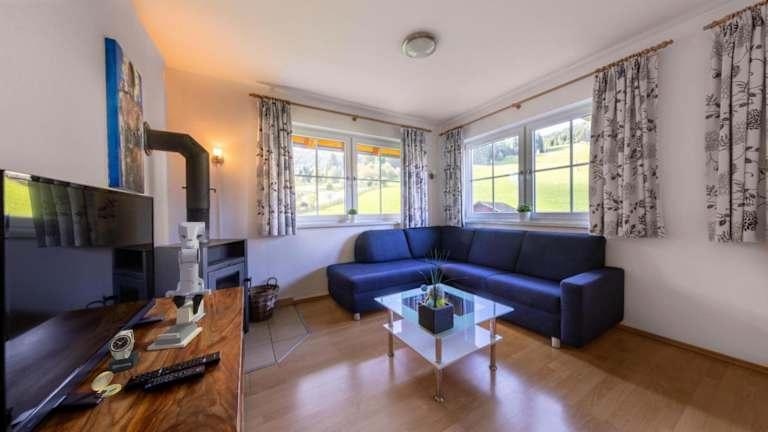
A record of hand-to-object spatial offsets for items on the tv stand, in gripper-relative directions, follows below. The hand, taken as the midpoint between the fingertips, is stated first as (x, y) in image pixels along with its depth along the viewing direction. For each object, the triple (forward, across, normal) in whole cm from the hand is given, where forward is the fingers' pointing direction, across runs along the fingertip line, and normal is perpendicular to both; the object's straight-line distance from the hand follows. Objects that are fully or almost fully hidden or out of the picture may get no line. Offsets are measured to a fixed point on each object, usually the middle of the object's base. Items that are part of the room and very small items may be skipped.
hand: (188, 314), depth 100 cm
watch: (+9, -9, -19) cm, 23 cm away
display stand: (+8, -3, -2) cm, 9 cm away
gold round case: (+9, -5, -31) cm, 33 cm away
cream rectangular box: (+1, 0, 0) cm, 1 cm away
